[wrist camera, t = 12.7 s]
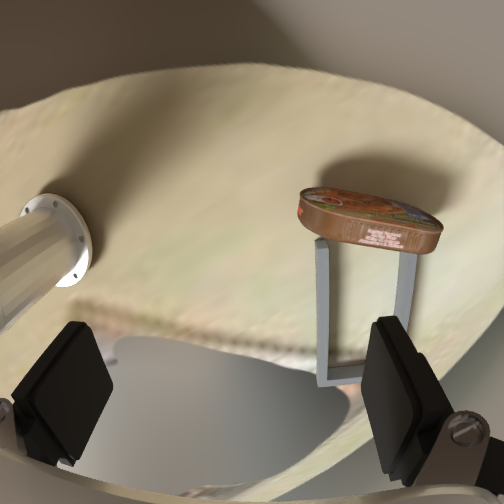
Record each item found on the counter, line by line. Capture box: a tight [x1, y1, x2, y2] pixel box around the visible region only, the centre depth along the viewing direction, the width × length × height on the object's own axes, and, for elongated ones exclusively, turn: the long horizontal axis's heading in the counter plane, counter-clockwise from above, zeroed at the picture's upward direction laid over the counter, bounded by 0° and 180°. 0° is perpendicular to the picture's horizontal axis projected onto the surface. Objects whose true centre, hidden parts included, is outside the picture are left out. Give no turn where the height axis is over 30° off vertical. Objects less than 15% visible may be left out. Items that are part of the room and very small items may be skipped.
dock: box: [315, 240, 417, 387], centre depth 37 cm, size 11×20×2 cm, turn 6°
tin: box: [298, 187, 444, 254], centre depth 29 cm, size 15×3×8 cm, turn 83°
